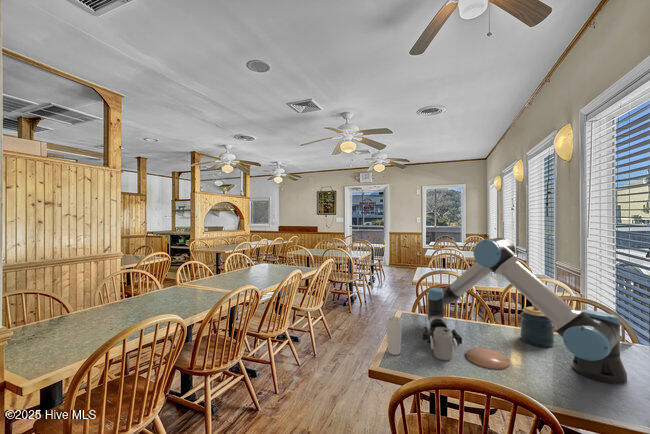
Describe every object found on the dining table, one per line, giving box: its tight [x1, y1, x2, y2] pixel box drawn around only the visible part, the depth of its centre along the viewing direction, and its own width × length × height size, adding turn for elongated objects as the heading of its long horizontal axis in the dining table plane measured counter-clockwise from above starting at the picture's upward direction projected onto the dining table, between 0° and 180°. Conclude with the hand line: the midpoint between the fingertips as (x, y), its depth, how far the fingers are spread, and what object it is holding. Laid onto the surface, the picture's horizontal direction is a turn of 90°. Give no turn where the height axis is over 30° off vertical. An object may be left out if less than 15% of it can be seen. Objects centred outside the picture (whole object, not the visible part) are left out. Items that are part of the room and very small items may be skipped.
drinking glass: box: [385, 315, 403, 356], centre depth 129 cm, size 7×7×15 cm
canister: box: [519, 305, 555, 348], centre depth 138 cm, size 13×13×18 cm
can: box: [433, 327, 454, 362], centre depth 124 cm, size 8×8×12 cm
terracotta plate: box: [465, 347, 511, 370], centre depth 122 cm, size 16×16×1 cm
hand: (444, 346), depth 120 cm, fingers open, 9 cm apart
